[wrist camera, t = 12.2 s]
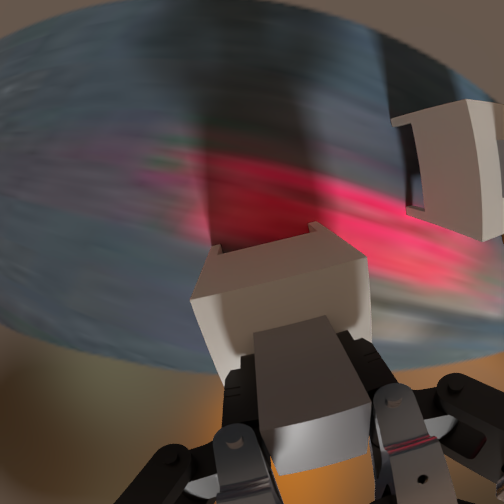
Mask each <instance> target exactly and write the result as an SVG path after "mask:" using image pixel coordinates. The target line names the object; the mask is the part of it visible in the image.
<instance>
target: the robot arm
mask: <svg viewBox="0 0 504 504" xmlns="http://www.w3.org/2000/svg"><path fill="white" fill-rule="evenodd" d="M336 335H337V337H338V338H339V340H340V342H341V344H342V346H343V348H344V350H345V351H346V353H347V355H348V357H349V359H350V361H351V363H352V365H353V367H354V369H355V371H356V372H357V374H358V376H359V378H360V380H361V382H362V384H363V386H364V388H365V390H366V392H367V394H368V396H369V398H370V400H371V402H372V404H371V418H370V429H369V436H370V440H369V445H370V451H371V458H372V465H373V472H374V479H375V501H373V502H371V503H370V504H474V503H471V502H467V501H464V500H460V499H457V498H456V494H455V491H454V487H453V483H452V480H451V476H450V473H449V469H448V467H447V463H446V460H445V457H444V454H445V455H447V456H448V457H450V458H452V459H453V460H455V461H457V462H459V463H460V464H462V465H463V466H465V467H467V468H469V469H470V470H472V471H474V472H476V473H478V474H479V475H481V476H483V477H485V478H487V479H489V480H490V481H492V482H494V483H496V484H497V485H496V497H497V498H498V499H500V500H502V501H503V502H504V392H502V391H500V390H497V389H495V388H493V387H491V386H488V385H486V384H484V383H482V382H479V381H477V380H475V379H473V378H470V377H468V376H466V375H464V374H461V373H452V374H448V375H446V376H444V377H443V378H441V379H440V380H439V382H438V384H437V387H434V388H428V389H423V390H412V389H411V388H410V387H408V386H407V385H404V384H401V383H398V382H397V380H396V379H395V377H394V375H393V374H392V372H391V371H390V369H389V368H388V366H387V365H386V363H385V362H384V360H383V359H382V358H381V356H380V355H379V353H377V350H376V349H375V347H374V346H373V344H372V343H371V342H369V341H367V340H365V339H364V338H360V339H357V340H354V339H353V337H352V336H351V334H350V333H349V331H348V330H345V331H342V332H339V333H336ZM224 389H225V391H224V401H223V417H222V428H221V429H220V430H219V431H218V432H217V433H216V434H215V436H214V438H213V441H211V442H210V443H208V444H205V445H203V446H200V447H197V448H194V449H191V450H188V449H187V448H186V447H185V446H183V445H180V444H169V445H166V446H163V447H162V448H160V449H159V450H158V451H157V452H156V453H155V454H154V455H153V457H152V458H151V459H150V460H149V462H148V463H147V464H146V466H145V467H144V468H143V469H142V470H141V472H140V473H139V474H138V475H137V476H136V478H135V479H134V480H133V482H132V483H131V484H130V485H129V486H128V488H127V489H126V490H125V491H124V492H123V493H122V495H121V496H120V497H119V498H118V499H117V500H116V502H115V503H114V504H214V502H215V501H216V502H217V504H284V503H283V501H282V498H281V495H280V492H279V489H278V487H277V484H276V481H275V478H274V475H273V472H272V469H271V460H270V454H269V452H268V449H267V447H266V445H265V442H264V440H263V438H262V435H261V433H260V429H259V414H258V400H257V385H256V370H255V355H254V354H249V355H244V356H241V357H240V369H235V370H230V372H229V374H228V375H227V377H226V379H225V386H224Z"/></svg>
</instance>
